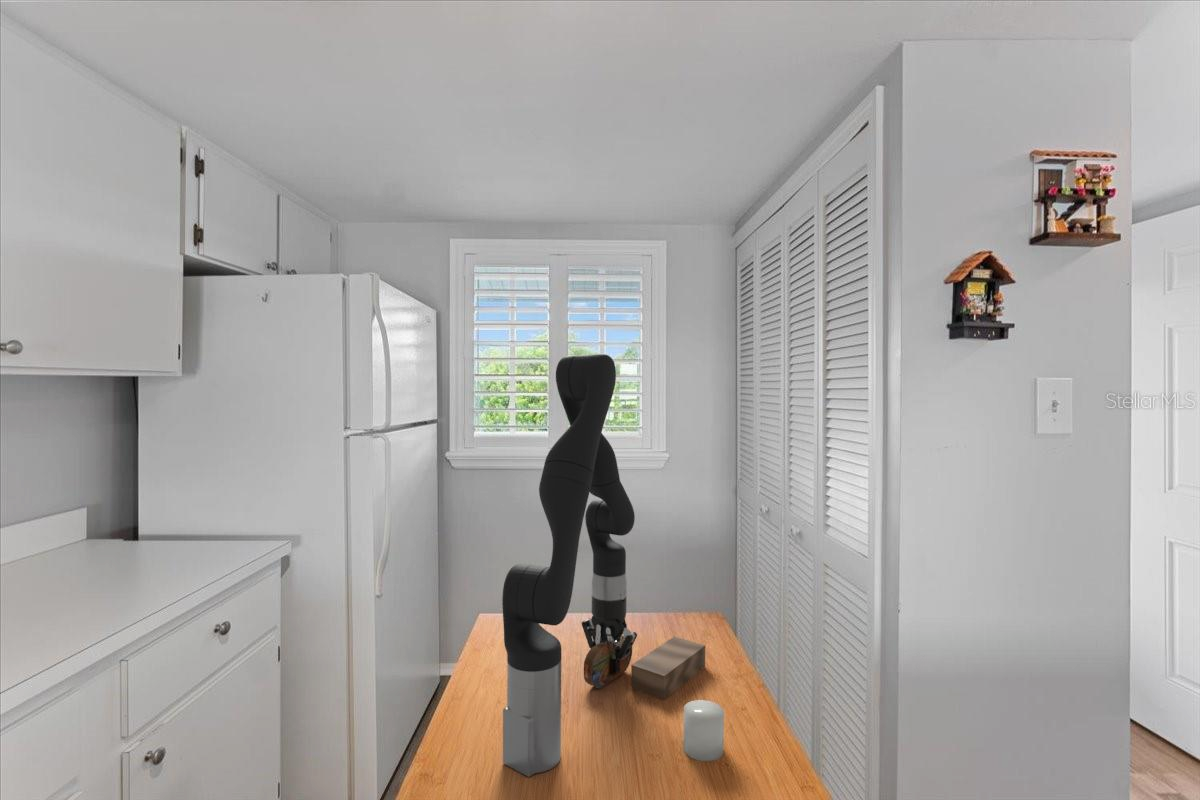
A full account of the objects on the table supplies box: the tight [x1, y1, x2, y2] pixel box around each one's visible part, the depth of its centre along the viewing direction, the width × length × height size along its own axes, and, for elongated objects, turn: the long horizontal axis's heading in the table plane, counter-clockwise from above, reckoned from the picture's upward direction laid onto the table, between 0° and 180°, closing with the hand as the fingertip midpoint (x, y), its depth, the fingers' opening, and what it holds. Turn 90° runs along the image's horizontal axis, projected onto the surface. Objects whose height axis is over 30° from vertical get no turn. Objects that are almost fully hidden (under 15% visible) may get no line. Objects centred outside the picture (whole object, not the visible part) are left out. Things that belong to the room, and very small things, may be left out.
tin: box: [583, 634, 633, 689], centre depth 135 cm, size 15×3×8 cm, turn 143°
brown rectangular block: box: [630, 636, 706, 701], centre depth 137 cm, size 18×8×5 cm, turn 143°
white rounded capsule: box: [682, 699, 725, 762], centre depth 111 cm, size 7×7×7 cm
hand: (608, 671), depth 135 cm, fingers closed on tin, 2 cm apart
